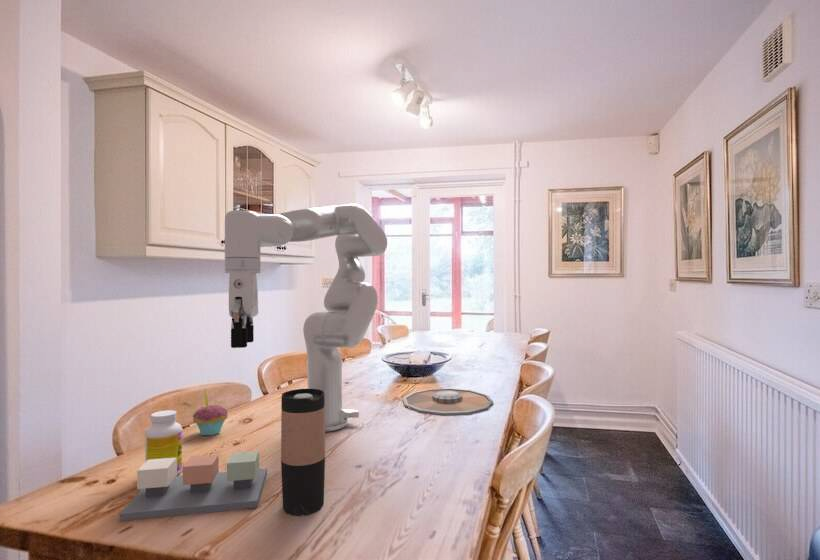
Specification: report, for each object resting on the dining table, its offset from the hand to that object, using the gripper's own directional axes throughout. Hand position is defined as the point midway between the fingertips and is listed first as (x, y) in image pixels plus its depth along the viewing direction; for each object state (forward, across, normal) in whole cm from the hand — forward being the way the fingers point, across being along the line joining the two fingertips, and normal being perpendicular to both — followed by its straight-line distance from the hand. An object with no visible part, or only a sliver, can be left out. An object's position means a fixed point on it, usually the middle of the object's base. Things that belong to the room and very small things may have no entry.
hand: (242, 344), depth 99 cm
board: (+26, -15, +5) cm, 30 cm away
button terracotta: (+23, -15, +5) cm, 28 cm away
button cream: (+23, -15, +12) cm, 30 cm away
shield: (+26, +38, -58) cm, 74 cm away
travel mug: (+26, -23, -14) cm, 38 cm away
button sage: (+23, -15, -3) cm, 28 cm away
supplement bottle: (+26, -4, +15) cm, 31 cm away
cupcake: (+26, +22, +12) cm, 36 cm away
